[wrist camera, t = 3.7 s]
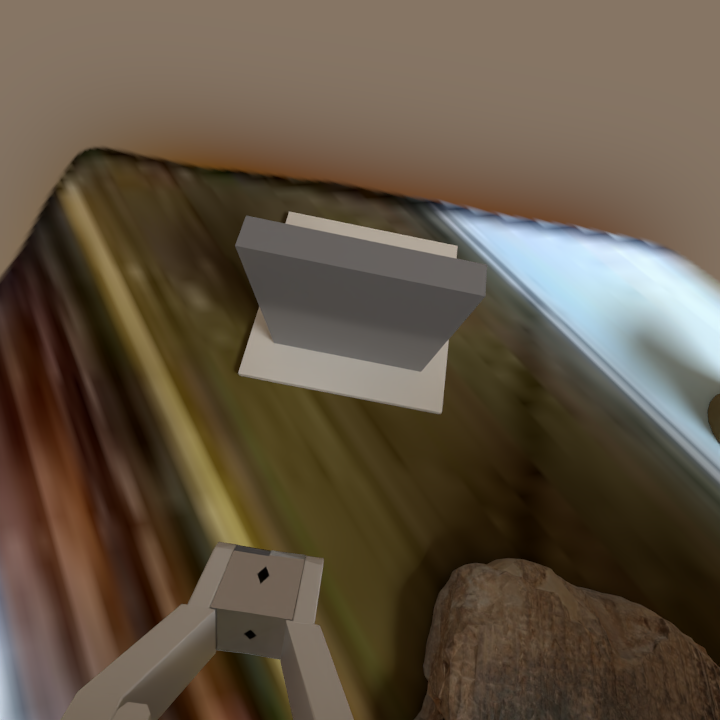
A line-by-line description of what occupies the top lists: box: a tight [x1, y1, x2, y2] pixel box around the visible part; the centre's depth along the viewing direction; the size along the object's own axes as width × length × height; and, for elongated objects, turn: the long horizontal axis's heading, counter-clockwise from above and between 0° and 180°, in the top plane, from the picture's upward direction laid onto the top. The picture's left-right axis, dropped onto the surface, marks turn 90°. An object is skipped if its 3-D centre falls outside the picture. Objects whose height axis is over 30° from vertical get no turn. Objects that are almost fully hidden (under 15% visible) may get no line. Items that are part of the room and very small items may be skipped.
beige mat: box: [238, 212, 457, 414], centre depth 29 cm, size 16×16×1 cm
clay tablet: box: [414, 558, 720, 720], centre depth 20 cm, size 14×5×20 cm
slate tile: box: [235, 216, 487, 372], centre depth 22 cm, size 2×12×12 cm, turn 80°
